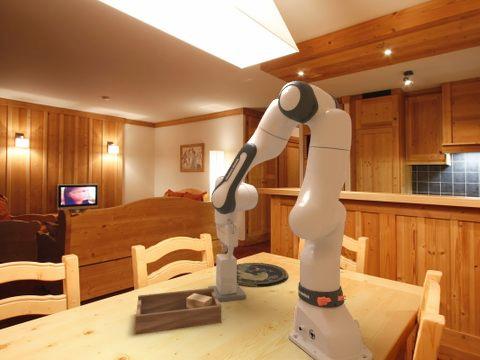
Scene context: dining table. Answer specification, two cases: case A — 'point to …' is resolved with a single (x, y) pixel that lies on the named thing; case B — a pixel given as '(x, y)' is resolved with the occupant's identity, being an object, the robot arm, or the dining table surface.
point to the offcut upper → (198, 301)
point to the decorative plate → (260, 275)
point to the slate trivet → (229, 295)
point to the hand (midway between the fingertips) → (227, 254)
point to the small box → (226, 274)
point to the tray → (174, 311)
